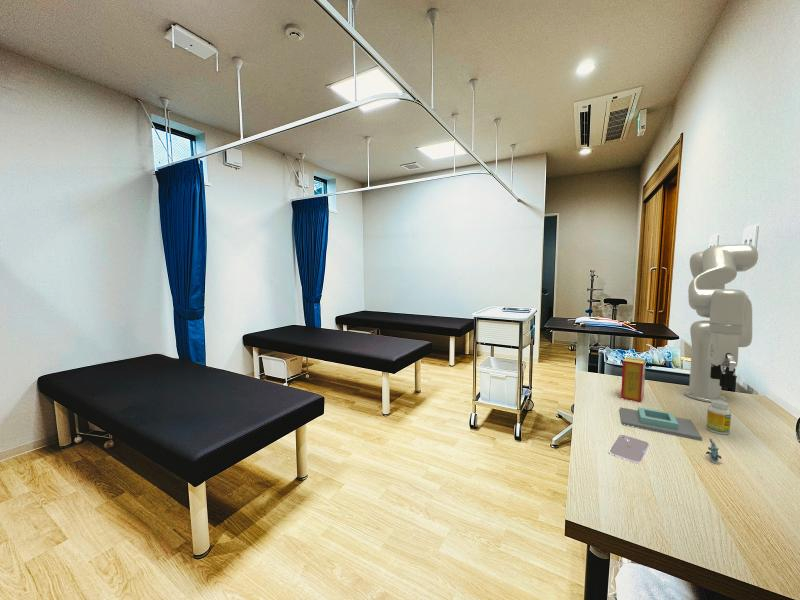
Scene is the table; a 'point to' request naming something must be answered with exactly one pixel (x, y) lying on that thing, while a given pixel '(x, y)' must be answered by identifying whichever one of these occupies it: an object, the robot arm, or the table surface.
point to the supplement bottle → (718, 417)
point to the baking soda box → (633, 379)
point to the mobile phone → (629, 448)
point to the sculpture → (713, 454)
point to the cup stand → (659, 422)
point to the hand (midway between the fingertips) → (721, 382)
